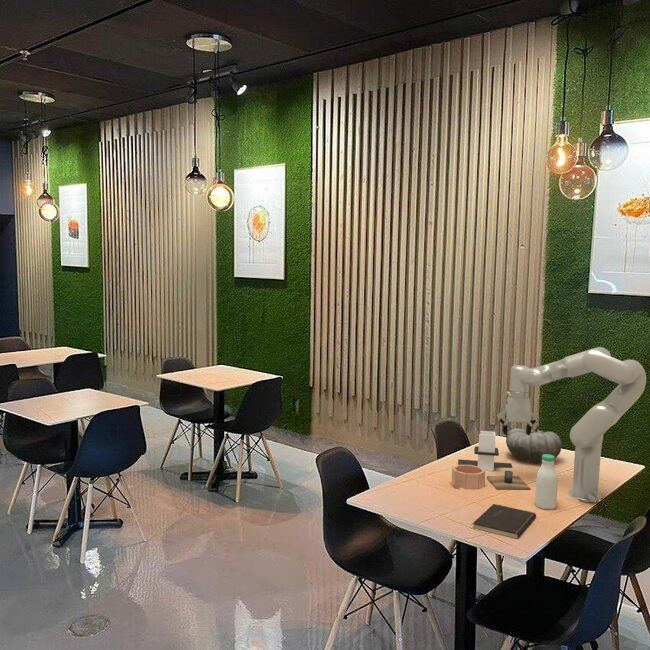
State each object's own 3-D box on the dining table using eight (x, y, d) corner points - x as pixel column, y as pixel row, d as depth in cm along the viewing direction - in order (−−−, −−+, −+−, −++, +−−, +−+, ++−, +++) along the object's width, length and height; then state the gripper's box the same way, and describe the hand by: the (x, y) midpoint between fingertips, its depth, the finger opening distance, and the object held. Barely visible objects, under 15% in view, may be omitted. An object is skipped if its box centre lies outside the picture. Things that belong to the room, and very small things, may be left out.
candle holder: (458, 459, 310) (459, 425, 309) (511, 463, 305) (512, 428, 304) (457, 474, 286) (459, 437, 285) (515, 479, 281) (517, 441, 280)
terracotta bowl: (487, 491, 267) (488, 474, 266) (456, 490, 266) (457, 474, 266) (478, 480, 279) (479, 464, 279) (449, 480, 279) (450, 464, 278)
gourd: (543, 466, 294) (541, 427, 295) (495, 462, 312) (494, 425, 314) (571, 461, 310) (569, 424, 312) (524, 458, 329) (522, 423, 330)
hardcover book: (472, 529, 229) (472, 523, 229) (493, 509, 248) (493, 503, 248) (517, 540, 220) (518, 533, 220) (536, 519, 240) (536, 513, 240)
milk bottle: (556, 511, 246) (558, 459, 244) (534, 508, 249) (537, 457, 247) (556, 504, 254) (559, 454, 252) (535, 501, 256) (538, 451, 254)
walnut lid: (530, 490, 267) (531, 477, 266) (496, 490, 266) (497, 477, 266) (518, 478, 281) (519, 466, 280) (486, 477, 280) (487, 465, 280)
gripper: (500, 396, 272) (498, 436, 274) (542, 397, 273) (539, 437, 274) (496, 392, 280) (493, 431, 282) (536, 393, 280) (534, 432, 282)
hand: (516, 434), depth 278 cm, fingers open, 9 cm apart
